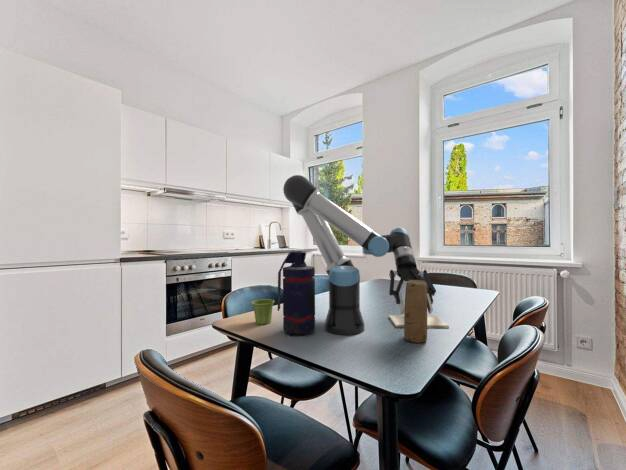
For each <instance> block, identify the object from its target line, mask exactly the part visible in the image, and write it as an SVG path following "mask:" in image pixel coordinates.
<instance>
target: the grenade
mask: <svg viewBox="0 0 626 470" xmlns="http://www.w3.org/2000/svg"><path fill="white" fill-rule="evenodd" d="M306 257H307V251H299V250H298V251H295V250H291V251H289V252H288V253H287V256H286V257H285V258H284V260H283V262H282V264H281V266H280V268H279V270H278V272H277V308H276V309H277V311H278V312H279V311H280V310H281V296H282V316H283V319H282V321H283V323H282V324H283V325H282V327H283V328H282V329H283V331H285V334H286V335H287V336H289V337H290V336H292V335H305V336H310V335H312V332H313V331H315V329H316V317H315V316H316V287H315V286H316V281H315V280H316V278H315V275H316V269H315V267H314V266H310V265H307V263H306V261H305V260H306ZM285 264H291V265H289V266H285ZM281 277H282V278H281ZM281 280H282V281H281ZM281 286H282V287H281ZM281 288H282V291H281ZM281 293H282V295H281Z"/></svg>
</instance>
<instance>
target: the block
mask: <svg viewBox="0 0 626 470" xmlns="http://www.w3.org/2000/svg"><path fill="white" fill-rule="evenodd" d="M404 293H405V294H404V295H405V296H404V309H405V310H404V313H403V315H404V328H403V331H404V334H403V335H404V339H405V340H406V341H408V342H412V343H417V344H420V343H425V342H427V341H428V328H427V315H428V308H427V284H426V282H425V281H423V279H421V280H409V281H406V286H405V292H404Z"/></svg>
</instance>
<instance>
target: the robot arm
mask: <svg viewBox="0 0 626 470" xmlns="http://www.w3.org/2000/svg"><path fill="white" fill-rule="evenodd" d="M282 188H283V189H282V190H283V194H284V197H285V199H286V200H288V201H289V202H290V203H291V204H292V206H293V207H294V210H295V212H296V214H297V215H299V216H301V217H302V218H303V220H304V223H305V224H306V227H307V228H308V231H309V232H310V234H311V236H312V238H313V240H314V242H315V244H316V246H317V248H318V250H319V252H320V254H321V256H322V258H323V260H324V262H325V264H326V268H325V272H326V274H327V276H328V285H329V286H328V295H329V296H328V298H329V300H328V301H329V302H328V312H327V315H326V318H325V320H324V329H325V331H326V332H328V333H331V334H334V335H341V336H342V335H343V336H351V335H357V334H361V333H363V332H364V331H365V321H364V319H363V315H362V311H361V307H360V304H361V303H360V299H361V298H360V297H361V295H360V292H361V291H360V285H361V284H360V283H361V275H360V269H359V268H357V267H356V266H355V265H354V264H353V262H352V260H351V258H350V257H347V256H345V253H344V252H343V250H342V248H341V246H340V244H339V242H338V240H337V238H336V236H335V234H334V232H333V230H332V228H334V229H336V230H337V231H339V232H340V233H341V234H344V236H346V237H347V238H349V239H350V240H352V241H353V242H355V243H356V244H357V245H359V246H361V247H362V250H363V252H362V253H363V254H364V255H371V256H373V257H376V258H381V257H384V256H385V255H386V254H388V253H393V258H394V263H395V269H396V270H393V269H390V270H389V273H388V274H389V275H388V276H389V278H390V282H389V289H388V295H389V296H393V297H394V299H395V300H394V301H395V303H396V305H399V310H400V314H401V315H404V310H405V303H404V300H403V296H402V292H401V290H402V287H403V284H404V282H407V281H409V280H423V281H425V282H426V284H427V313H428V314H429V315H432V313H433V310H434V308H433V307H434V306H433V303H434V299H433V297H434V296H435V294H436V293H437V290H436V288H435V286H434V284H433V283H432V281H431V279H430V277H429V275H428V271H427V270H426V269H424V270H423V271H422V270H419V269H418V265H417V262H416V258H415V254H414V251H413V248H412V244H411V238H410V236H409V233H408V231H407V230H406V229H405V228H403V227H397V228H394V229H392V230H391V231H390V233H389V234H383V235H380V234H378V232H376V231H374V230H373V229H371V228H370V227H369V226H367V225H366V224H365V223H363V222H362V221H360V220H359V219H358V218H356V217H355V216H354V215H352V214H350V213H349V212H347V211H346V210H344V209H343V208H341V207H340V206H339V205H338V204H336V203H334V202H333V201H332V200H330V199H329V198H327V197H326V196H324V195H323V194H321V192H320V189H319V188H317V187H316V186H315V185H314V184H313V182H311V181H310V180H309V179H308V178H306V176H303V175H300V174H299V175H298V174H295V175H291V176H290V177H288V178H287V179H286V181H285V182H284V184H283V187H282ZM330 225H331V226H330ZM331 227H332V228H331ZM419 275H420V276H419ZM396 276H398V278H400V280H399V281H398V284H397V287H396V289H394V287H395V277H396ZM421 278H422V279H421ZM400 292H401V293H400Z"/></svg>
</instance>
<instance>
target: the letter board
mask: <svg viewBox="0 0 626 470" xmlns="http://www.w3.org/2000/svg"><path fill="white" fill-rule="evenodd" d="M388 318H389V319H390V321H391V323H392V324H393V325H394V327H395V328H403V329H404V314H401V315H399V314H389V315H388ZM449 328H450V325H449V324H448V323H446V321H444V320H442V319H441V318H440V317H439V316H437V315H432V314H429V315H428V314H427V329H449Z"/></svg>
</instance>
